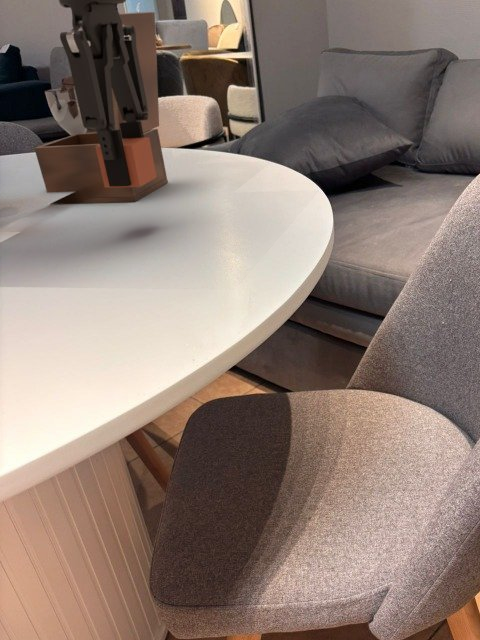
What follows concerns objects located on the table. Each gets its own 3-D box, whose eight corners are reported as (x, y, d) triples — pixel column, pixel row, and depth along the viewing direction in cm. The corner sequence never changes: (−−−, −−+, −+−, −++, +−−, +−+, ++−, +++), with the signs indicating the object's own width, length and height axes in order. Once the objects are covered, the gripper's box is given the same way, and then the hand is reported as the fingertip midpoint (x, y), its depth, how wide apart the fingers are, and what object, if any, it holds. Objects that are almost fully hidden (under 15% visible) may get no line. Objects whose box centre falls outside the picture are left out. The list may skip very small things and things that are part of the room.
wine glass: (90, 166, 132) (71, 86, 124) (116, 168, 127) (97, 85, 120) (58, 175, 126) (36, 92, 119) (84, 177, 122) (62, 91, 114)
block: (104, 187, 82) (95, 146, 79) (123, 178, 86) (114, 138, 83) (140, 187, 80) (131, 145, 78) (156, 177, 84) (149, 137, 82)
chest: (50, 204, 105) (34, 148, 101) (89, 185, 116) (76, 133, 111) (135, 201, 101) (122, 143, 97) (167, 182, 112) (157, 128, 107)
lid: (110, 13, 88) (115, 14, 87) (150, 11, 98) (155, 12, 98) (119, 139, 97) (124, 140, 96) (154, 125, 107) (159, 126, 107)
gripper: (72, -43, 62) (124, 198, 75) (151, -37, 77) (184, 163, 89) (6, -36, 64) (68, 198, 76) (96, -31, 79) (136, 165, 91)
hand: (130, 179), depth 83 cm, fingers closed on block, 5 cm apart
